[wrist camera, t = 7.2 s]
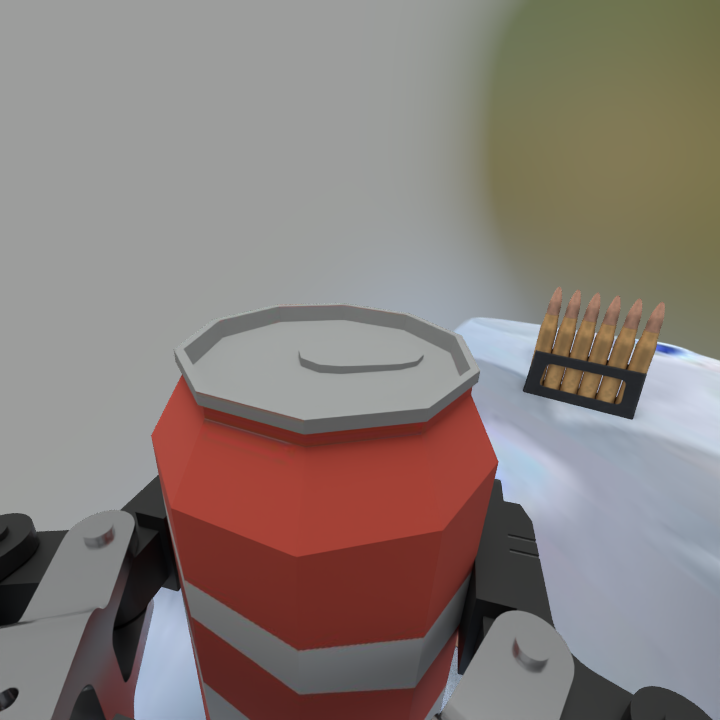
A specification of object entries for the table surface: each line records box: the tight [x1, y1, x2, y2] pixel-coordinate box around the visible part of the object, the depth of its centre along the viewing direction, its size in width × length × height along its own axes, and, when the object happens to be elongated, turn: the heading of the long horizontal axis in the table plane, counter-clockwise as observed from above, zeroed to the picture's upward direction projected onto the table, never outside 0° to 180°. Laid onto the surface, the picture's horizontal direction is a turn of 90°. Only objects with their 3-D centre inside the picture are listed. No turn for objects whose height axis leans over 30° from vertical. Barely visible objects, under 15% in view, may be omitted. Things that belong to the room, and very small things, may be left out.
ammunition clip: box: [523, 287, 665, 420], centre depth 41 cm, size 11×2×12 cm, turn 62°
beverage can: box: [151, 303, 498, 720], centre depth 10 cm, size 6×6×12 cm
